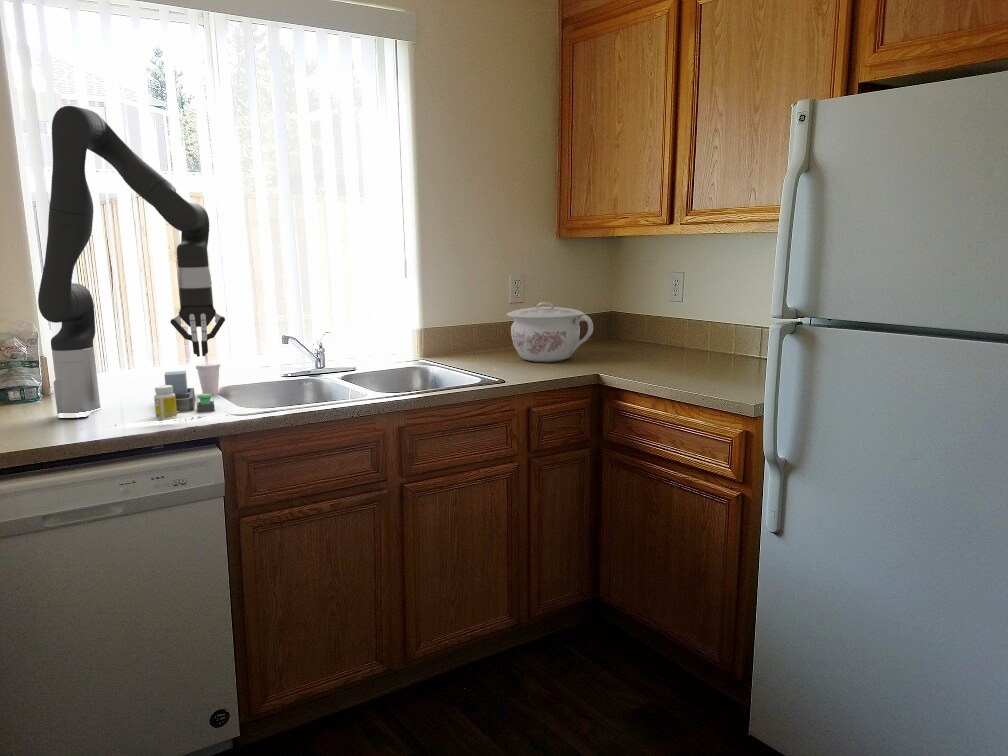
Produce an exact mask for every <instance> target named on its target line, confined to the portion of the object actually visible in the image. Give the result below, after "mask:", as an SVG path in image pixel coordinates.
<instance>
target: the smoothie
mask: <svg viewBox="0 0 1008 756" xmlns="http://www.w3.org/2000/svg"><path fill="white" fill-rule="evenodd" d="M204 359H205V360H204V361H205V362H203V363H197V364H195V369H196V370H197V374H198V377H199V379H198V380H199V384H200V388H201V392H202V393H201V394H212V396H216V395H218V394H219V383H220V382H219V380H220V368H221V363H220V362H214V361H213V362H209V361H208V353H207V354H205V356H204Z"/></svg>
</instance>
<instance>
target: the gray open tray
mask: <svg viewBox="0 0 1008 756" xmlns="http://www.w3.org/2000/svg"><path fill="white" fill-rule="evenodd" d="M187 388H188V393H179V394H175V397H176V406H177V411H180V412H179V413H182V412H183V413H184V412H194V411H195V407H196V399H195V398H196V396H195V395H196V394H195V387H187Z"/></svg>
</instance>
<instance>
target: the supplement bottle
mask: <svg viewBox="0 0 1008 756" xmlns="http://www.w3.org/2000/svg"><path fill="white" fill-rule="evenodd" d="M154 392H155V395H154V398H153V399H154V408H155V416H156V418H159V417H160V418H161V419H164V417H165V418H172V416H173V417H176V416H177V415H178V412H177V406H176V397H175V394H174V393H172V392H173V386H172V385H157V386H154Z"/></svg>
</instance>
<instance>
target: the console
mask: <svg viewBox="0 0 1008 756" xmlns="http://www.w3.org/2000/svg"><path fill="white" fill-rule="evenodd" d="M210 402H211V404H201V405H200V401H197V402H196V411H197V413H206V412H215V410H216V409H215V400H210Z"/></svg>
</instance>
